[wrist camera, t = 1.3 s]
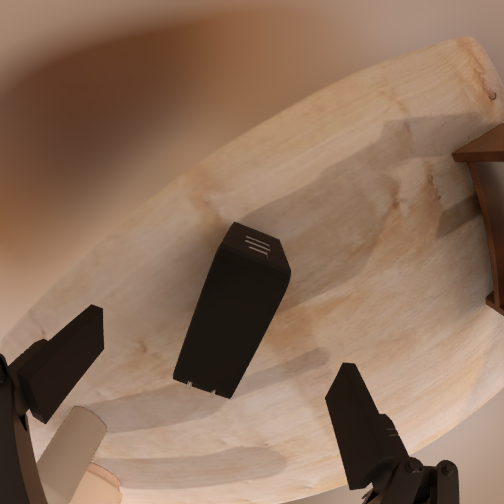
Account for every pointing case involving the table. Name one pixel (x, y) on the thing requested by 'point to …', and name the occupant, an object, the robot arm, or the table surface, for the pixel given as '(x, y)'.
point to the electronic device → (233, 310)
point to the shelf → (490, 200)
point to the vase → (97, 487)
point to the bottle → (69, 455)
